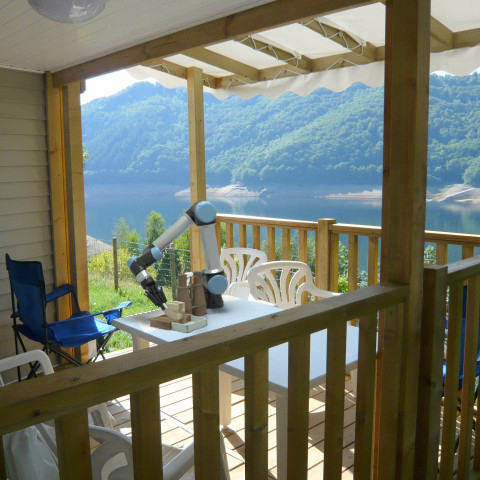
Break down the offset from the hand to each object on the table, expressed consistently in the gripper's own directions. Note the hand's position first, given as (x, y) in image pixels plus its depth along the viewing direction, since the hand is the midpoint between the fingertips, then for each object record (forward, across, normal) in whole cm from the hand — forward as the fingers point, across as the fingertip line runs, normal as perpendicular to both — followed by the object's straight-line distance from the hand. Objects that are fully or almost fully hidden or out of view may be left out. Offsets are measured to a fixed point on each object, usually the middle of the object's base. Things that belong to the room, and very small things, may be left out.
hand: (169, 314), depth 269 cm
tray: (+14, -1, +6) cm, 15 cm away
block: (+4, 0, +2) cm, 5 cm away
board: (+5, -1, -3) cm, 6 cm away
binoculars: (+4, -18, -5) cm, 19 cm away
